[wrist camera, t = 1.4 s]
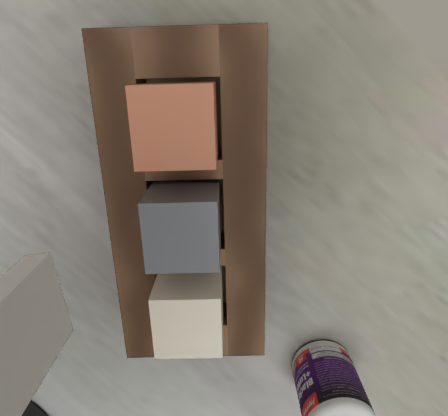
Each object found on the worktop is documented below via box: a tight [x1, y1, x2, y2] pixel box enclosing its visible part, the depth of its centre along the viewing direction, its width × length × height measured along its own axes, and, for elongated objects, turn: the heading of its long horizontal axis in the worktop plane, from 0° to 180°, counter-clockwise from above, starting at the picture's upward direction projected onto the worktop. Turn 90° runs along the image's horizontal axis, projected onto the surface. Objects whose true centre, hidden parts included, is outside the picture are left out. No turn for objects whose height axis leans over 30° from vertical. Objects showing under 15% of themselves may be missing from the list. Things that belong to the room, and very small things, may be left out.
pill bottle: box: [292, 341, 375, 416], centre depth 30 cm, size 5×5×10 cm
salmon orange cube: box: [125, 81, 218, 172], centre depth 23 cm, size 5×5×5 cm
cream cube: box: [148, 266, 223, 359], centre depth 27 cm, size 5×5×5 cm
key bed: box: [82, 23, 268, 358], centre depth 28 cm, size 11×24×4 cm, turn 2°
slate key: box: [138, 179, 221, 274], centre depth 25 cm, size 5×5×5 cm
